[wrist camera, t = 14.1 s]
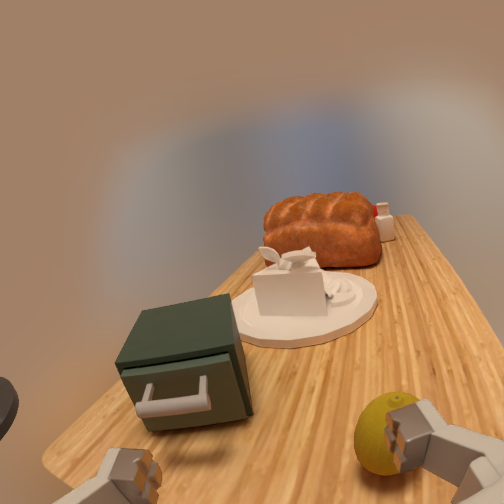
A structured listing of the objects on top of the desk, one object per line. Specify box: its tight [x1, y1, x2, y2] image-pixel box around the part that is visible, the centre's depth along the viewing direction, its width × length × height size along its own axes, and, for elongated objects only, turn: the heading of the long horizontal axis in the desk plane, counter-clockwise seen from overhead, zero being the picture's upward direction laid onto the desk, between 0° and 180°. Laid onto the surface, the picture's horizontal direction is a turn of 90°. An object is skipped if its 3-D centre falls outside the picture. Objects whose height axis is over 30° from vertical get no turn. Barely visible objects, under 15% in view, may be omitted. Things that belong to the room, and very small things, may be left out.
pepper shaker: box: [375, 203, 395, 242], centre depth 76 cm, size 4×4×10 cm
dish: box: [232, 246, 378, 349], centre depth 50 cm, size 25×25×11 cm
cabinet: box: [115, 293, 253, 416], centre depth 33 cm, size 12×11×9 cm
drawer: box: [120, 351, 247, 431], centre depth 29 cm, size 16×10×7 cm, turn 6°
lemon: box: [354, 392, 420, 476], centre depth 18 cm, size 6×6×8 cm
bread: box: [263, 192, 382, 268], centre depth 69 cm, size 14×26×16 cm, turn 62°
